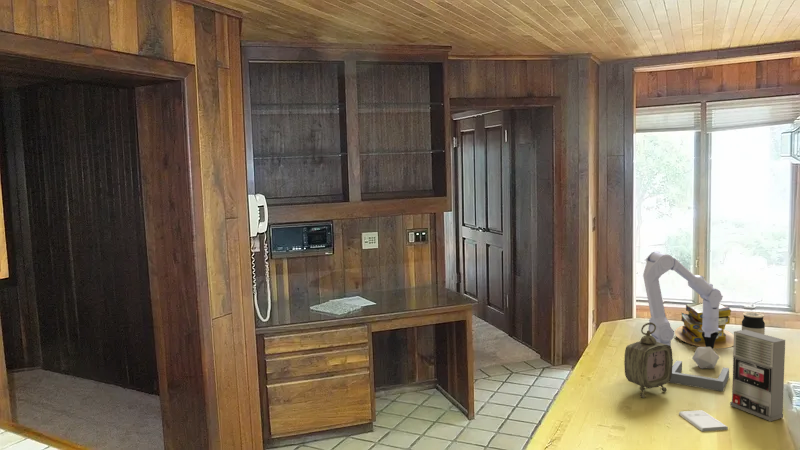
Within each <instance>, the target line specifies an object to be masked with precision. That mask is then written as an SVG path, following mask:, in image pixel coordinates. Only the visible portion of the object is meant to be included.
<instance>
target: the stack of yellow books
mask: <svg viewBox="0 0 800 450" xmlns="http://www.w3.org/2000/svg"><path fill="white" fill-rule="evenodd" d="M685 310H686V311H687V312H688V313H684V312H681V318H680V321H681V322H683V325H681V326H679V327H677V328H676V329H675V330H674V335H675V336H676V337H677V338H678V339H679V340H680V341H683V342H685V343H687V344H689V345H692V346H696V347H706V345H705V341H704V338H703V336H702V332H704V331H703V330H702V321H703V302H699V303H687V304H686V305H685ZM731 313H732V310H731V309H730V307H729V306H725V305H723V304H722V303H721V302H720V303H719V322H718V328H720V329H722V331H717V332H718V333H719V334H718V336H717V337H716V340H715V344H714V348H713V349H726V348H727V349H728V348H732V347H734V333H732V332H730V331H728V330H727V329H726V325H729V324H730V320H731V318H730V316H731Z"/></svg>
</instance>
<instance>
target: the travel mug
mask: <svg viewBox="0 0 800 450" xmlns="http://www.w3.org/2000/svg"><path fill="white" fill-rule="evenodd" d="M742 315H743V319H742V321H741V330H749V331H753V332H757V333H760V334H764V335H766V334H765V331H766V329H765V327H766V323H765V321H764V317H765V314H763V313H760V312H754V311H746V312H743V313H742Z"/></svg>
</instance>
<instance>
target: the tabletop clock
mask: <svg viewBox="0 0 800 450" xmlns="http://www.w3.org/2000/svg"><path fill="white" fill-rule="evenodd" d="M650 324H652V325H654V330H653V331H652V332H650V331H649V330H647V331H646V332H644V328H645V327H646V326H649V325H650ZM655 330H656V326H655V324H654V323H649V322H646V323H644V324H643V325H642V327H641V329H640V332H641V334H642V335H643V336H642V337H641V339H640V340H638V341H636V342H633V343H630V344H628V345H627V346H626V347H625V349H624V360H623V361H624V364H623V365H624V375H625V378H626V379H627V381H628V382H631V383H633V384H635V385H639V386H640V387H639V390H640V391H641V393H640V394H639V396H640V398H641V399H644V398H646V394H645V392H644V391H645V389H655V388H660V387H661V391H662V392H663V393H665V392H667V387H665V386H664V385H667V384H668V383H670V382H669V381H670V379H671V375H672V366H673V365H674V362H673V361H674V359H673V351H672V350H673V349H672V345H671V346H669V345H666V344H663V343H659V342H656V339H655V338H654V337H653V336H651V334H652V333H654V331H655ZM672 359H673V360H672Z"/></svg>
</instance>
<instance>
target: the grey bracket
mask: <svg viewBox="0 0 800 450" xmlns="http://www.w3.org/2000/svg"><path fill="white" fill-rule="evenodd" d="M682 371H683V361H682V360H676V361H675V362H673V364H672V375H671V379H670V381H669V382H668V383H671V384H678V385H682V386H689V387H694V388H701V389H707V390H713V391H718V392H724V390H725V388H726V386H727V384H728V380H729V378H730V367H724V366H723V367H722V368H721V371H720V373H719V376H718V377H717V378H713V377H709V376H704V375H703V376H701V375H694V374H689V373H683V372H682ZM681 372H682V373H681Z"/></svg>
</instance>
